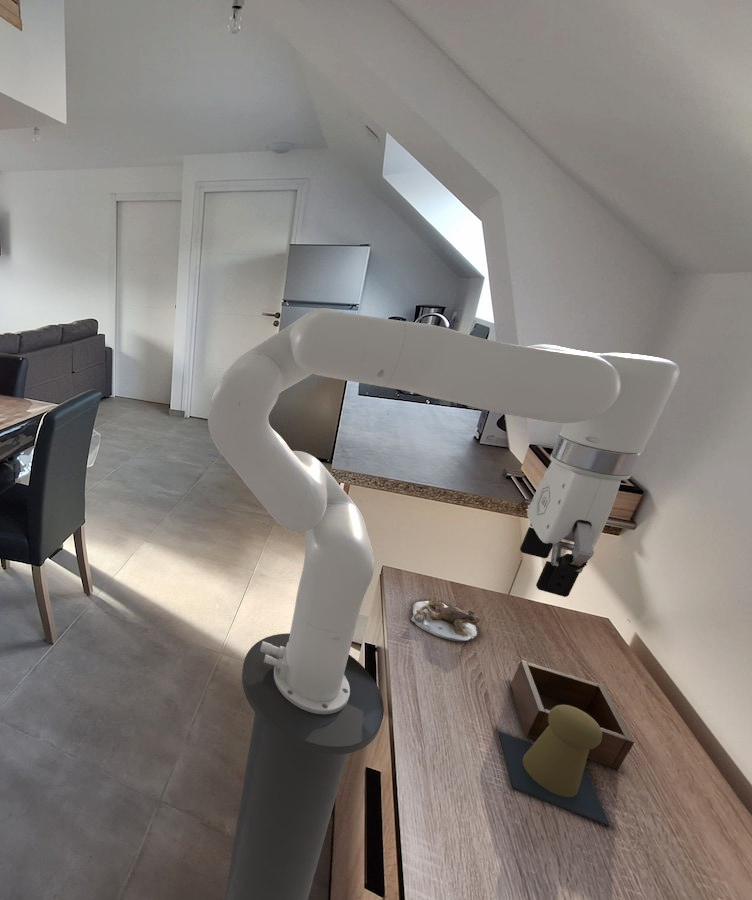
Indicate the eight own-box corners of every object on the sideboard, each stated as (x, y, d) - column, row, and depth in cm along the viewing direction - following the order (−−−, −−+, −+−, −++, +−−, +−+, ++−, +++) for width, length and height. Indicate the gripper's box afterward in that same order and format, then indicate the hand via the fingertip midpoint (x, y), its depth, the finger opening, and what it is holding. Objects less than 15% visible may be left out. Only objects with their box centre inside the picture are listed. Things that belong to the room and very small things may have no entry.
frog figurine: (476, 615, 93) (482, 600, 92) (478, 652, 84) (484, 636, 82) (414, 594, 99) (418, 579, 97) (409, 626, 89) (414, 610, 88)
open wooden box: (526, 736, 68) (538, 710, 66) (510, 684, 77) (520, 659, 75) (618, 769, 64) (634, 742, 62) (590, 710, 73) (603, 685, 71)
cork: (587, 804, 59) (621, 746, 55) (532, 786, 61) (561, 729, 57) (566, 761, 64) (596, 705, 60) (515, 746, 66) (541, 690, 62)
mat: (512, 788, 61) (513, 786, 61) (498, 732, 69) (499, 731, 68) (608, 826, 57) (609, 825, 57) (582, 763, 65) (583, 761, 64)
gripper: (537, 432, 64) (497, 535, 70) (576, 473, 50) (521, 598, 56) (606, 443, 61) (557, 550, 67) (668, 490, 47) (599, 621, 53)
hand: (541, 572), depth 62 cm, fingers open, 9 cm apart
